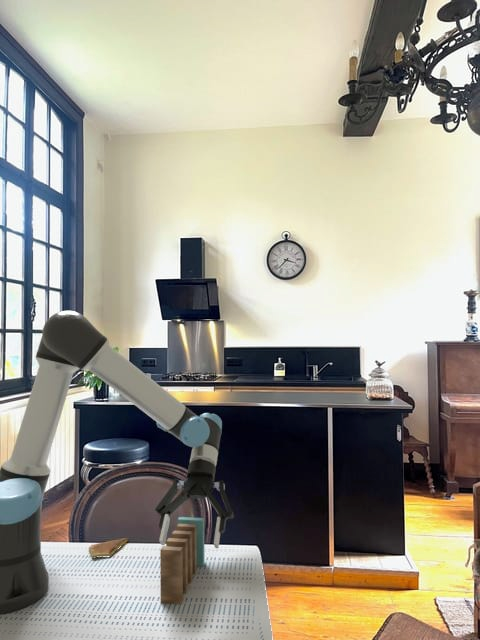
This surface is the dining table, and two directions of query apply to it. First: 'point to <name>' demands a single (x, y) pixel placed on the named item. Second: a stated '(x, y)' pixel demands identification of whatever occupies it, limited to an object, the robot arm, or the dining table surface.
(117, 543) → the shard
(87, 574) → the dining table surface
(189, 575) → the domino
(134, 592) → the dining table surface
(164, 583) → the domino
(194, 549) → the domino
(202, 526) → the domino
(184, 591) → the domino
